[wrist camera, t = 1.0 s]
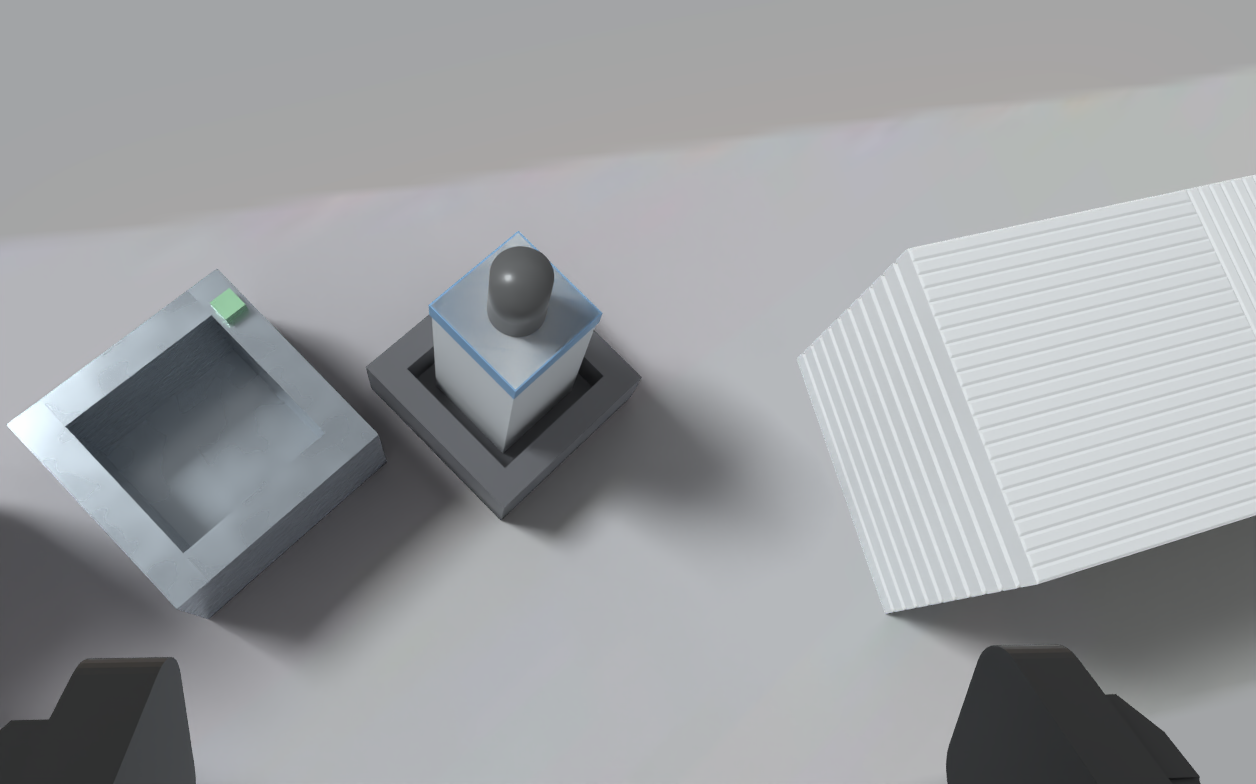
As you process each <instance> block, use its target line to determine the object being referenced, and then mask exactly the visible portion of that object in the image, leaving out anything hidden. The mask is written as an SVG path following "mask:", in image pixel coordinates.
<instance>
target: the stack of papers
mask: <svg viewBox="0 0 1256 784" xmlns="http://www.w3.org/2000/svg"><path fill="white" fill-rule="evenodd" d="M896 262H897V263H892V264H891V265H890V266H889V267H888V268H887V269H886V270H885V271H884V272H883V273H884V275H881V276H879V277H878V278H877V279H876V280H875V281H874V282H873V283H872V287H868V288H867V289H866V290H865V291H864V292H863V293H862V294H861V295H860V296H861V298H857V299H856V300H855V301H854V302H853V303H852V304H851V305H850V308H848V309H846V310H845V311H844V312H843V313H842V314H841V315H840V318H837V319H836V320H835V321H834V322H833V323H832V324H831V325H830V327H829V328H827V329H826V330H825V331H824V332H823V333H822V334H821V336H820V337H818V338H817V339H816V340H815V341H814V342H813V345H810V346H809V347H808V348H807V349H806V350H805V351H804V352H805V353H802V354H801V355H800V356H799V357H798V358H797V361H798V364H799V367H800V370H801V373H802V376H803V379H804V381H805V384H806V387H807V390H808V393H809V396H810V399H811V402H812V405H813V407H814V410H815V413H816V416H817V419H818V422H819V425H820V428H821V430H822V433H823V436H824V439H825V442H826V445H827V448H828V451H829V454H830V456H831V459H832V462H833V465H834V468H835V471H836V474H837V477H838V479H839V482H840V485H841V488H842V491H843V494H844V497H845V500H846V503H847V505H848V508H849V511H850V514H851V517H852V520H853V523H854V526H855V528H856V531H857V534H858V537H859V540H860V543H861V546H862V549H863V552H864V554H865V557H866V560H867V563H868V566H869V569H870V572H871V575H872V577H873V580H874V583H875V586H876V589H877V592H878V595H879V598H880V601H881V603H882V606H883V609H884V612H885V614H887V613H892V612H897V611H902V610H907V609H912V608H917V607H923V606H928V605H933V604H938V603H942V602H949V601H954V600H959V599H964V598H969V597H975V596H980V595H984V594H990V593H995V592H1000V591H1003V590H1004V591H1006V590H1011V589H1016V588H1019V587H1026V586H1032V585H1037V584H1040V583H1043V582H1046V581H1050V580H1053V579H1056V578H1059V577H1062V576H1065V575H1069V574H1072V573H1075V572H1078V571H1081V570H1084V569H1088V568H1091V567H1094V566H1097V565H1100V564H1103V563H1107V562H1110V561H1113V560H1116V559H1119V558H1122V557H1126V556H1129V555H1132V554H1135V553H1138V552H1141V551H1145V550H1148V549H1151V548H1154V547H1157V546H1160V545H1163V544H1167V543H1170V542H1173V541H1176V540H1179V539H1182V538H1186V537H1189V536H1192V535H1195V534H1198V533H1201V532H1205V531H1208V530H1211V529H1214V528H1217V527H1220V526H1224V525H1227V524H1230V523H1233V522H1236V521H1239V520H1243V519H1246V518H1249V517H1252V516H1255V515H1256V175H1251V176H1247V177H1242V178H1237V179H1232V180H1228V181H1223V182H1218V183H1214V184H1209V185H1204V186H1200V187H1195V188H1190V189H1185V190H1181V191H1176V192H1171V193H1167V194H1162V195H1157V196H1153V197H1148V198H1143V199H1138V200H1134V201H1129V202H1124V203H1120V204H1115V205H1110V206H1106V207H1101V208H1096V209H1092V210H1087V211H1082V212H1077V213H1073V214H1068V215H1063V216H1059V217H1054V218H1049V219H1045V220H1040V221H1035V222H1030V223H1026V224H1021V225H1016V226H1012V227H1007V228H1002V229H998V230H993V231H988V232H983V233H979V234H974V235H969V236H965V237H960V238H955V239H951V240H946V241H941V242H936V243H932V244H927V245H922V246H918V247H913V248H908V249H907V250H906V251H904V252H903V253H902V254H901V255H900V256H899V257H898V258H897V259H896Z"/></svg>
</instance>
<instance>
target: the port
mask: <svg viewBox="0 0 1256 784" xmlns="http://www.w3.org/2000/svg"><path fill="white" fill-rule="evenodd" d="M7 426H8V427H9V428H10V429H11V430H12V431H13V432H14V433H15V435H16V436H17V437H18V438H19V439H20V440H21V441H22V442H23V443H24V444H25V445H26V446H27V448H28V449H29V450H30V451H31V452H32V453H33V454H34V455H35V456H36V457H37V458H38V459H39V461H40V462H41V463H42V464H43V465H44V466H45V467H46V468H47V469H48V470H49V471H50V472H51V474H52V475H53V476H54V477H55V478H56V479H57V480H58V481H59V482H60V483H61V484H62V485H63V487H64V488H65V489H66V490H67V491H68V492H69V493H70V494H71V495H72V496H73V497H74V498H75V500H76V501H77V502H78V503H79V504H80V505H81V506H82V507H83V508H84V509H85V510H86V511H87V513H88V514H89V515H90V516H91V517H92V518H93V519H94V520H95V521H96V522H97V523H98V524H99V526H100V527H101V528H102V529H103V530H104V531H105V532H106V533H107V534H108V535H109V536H110V537H111V539H112V540H113V541H114V542H115V543H116V544H117V545H118V546H119V547H120V548H121V549H122V550H123V552H124V553H125V554H126V555H127V556H128V557H129V558H130V559H131V560H132V561H133V562H134V563H135V565H136V566H137V567H138V568H139V569H140V570H141V571H142V572H143V573H144V574H145V575H146V576H147V578H148V579H149V580H150V581H151V582H152V583H153V584H154V585H155V586H156V587H157V588H158V589H159V591H160V592H161V593H162V594H163V595H164V596H165V597H166V598H167V599H168V600H169V601H170V602H171V604H172V605H173V606H174V607H175V608H176V609H178V610H181V611H184V612H187V613H190V614H194V615H197V616H200V617H203V618H206V619H209V618H210V617H211V616H212V615H213V614H214V613H216V612H217V611H218V610H219V609H220V608H221V607H222V606H223V605H225V604H226V603H227V602H228V601H229V600H230V599H231V598H233V597H234V596H235V595H236V594H237V593H238V592H239V591H241V590H242V589H243V588H244V587H245V586H246V585H247V584H248V583H250V582H251V581H252V580H253V579H254V578H255V577H256V576H258V575H259V574H260V573H261V572H262V571H263V570H264V569H266V568H267V567H268V566H269V565H270V564H271V563H272V562H273V561H275V560H276V559H277V558H278V557H279V556H280V555H281V554H283V553H284V552H285V551H286V550H287V549H288V548H289V547H291V546H292V545H293V544H294V543H295V542H296V541H297V540H298V539H300V538H301V537H302V536H303V535H304V534H305V533H306V532H308V531H309V530H310V529H311V528H312V527H313V526H314V525H315V524H317V523H318V522H319V521H320V520H321V519H322V518H323V517H325V516H326V515H327V514H328V513H329V512H330V511H331V510H333V509H334V508H335V507H336V506H337V505H338V504H339V503H340V502H342V501H343V500H344V499H345V498H346V497H347V496H348V495H350V494H351V493H352V492H353V491H354V490H355V489H356V488H358V487H359V486H360V485H361V484H362V483H363V482H364V481H365V480H367V479H368V478H369V477H370V476H371V475H372V474H373V473H375V472H376V471H377V470H378V469H379V468H380V467H381V466H383V465H384V464H385V463H386V458H385V455H384V451H383V448H382V445H381V441H380V438H379V434H378V433H377V432H376V431H375V430H374V429H373V428H372V427H371V426H370V425H369V424H368V423H367V422H366V421H365V420H364V419H363V418H362V417H361V416H360V415H359V414H358V413H357V412H356V411H355V410H354V409H353V408H352V407H351V406H350V405H349V404H348V403H347V402H346V401H345V399H344V398H343V397H342V396H341V395H340V394H339V393H338V392H337V391H336V390H335V389H334V388H333V387H332V386H331V385H330V384H329V383H328V382H327V381H326V380H325V379H324V378H323V377H322V376H321V375H320V374H319V373H318V372H317V371H316V370H315V369H314V368H313V367H312V366H311V365H310V364H309V362H308V361H307V360H306V359H305V358H304V357H303V356H302V355H301V354H300V353H299V352H298V351H297V350H296V349H295V348H294V347H293V346H292V345H291V344H290V343H289V342H288V341H287V340H286V339H285V338H284V337H283V336H282V335H281V334H280V333H279V332H278V331H277V330H276V329H275V328H274V327H273V325H272V324H271V323H270V322H269V321H268V320H267V319H266V318H265V317H264V316H263V315H262V314H261V313H260V312H259V311H258V310H257V309H256V308H255V307H254V306H253V305H252V304H251V303H250V302H249V301H248V300H247V299H246V298H245V297H244V296H243V295H242V294H241V293H240V292H239V291H238V290H237V288H236V287H235V286H234V285H233V284H232V283H231V282H230V281H229V280H228V279H227V278H226V277H225V276H224V275H223V274H222V273H221V272H220V271H219V270H218V269H216V270H214V271H213V272H212V273H210V274H209V275H208V276H206V277H205V278H203V279H202V280H201V281H199V282H198V283H197V284H195V285H194V286H193V287H191V288H190V289H189V290H187V291H186V292H185V293H183V294H182V295H181V296H179V297H178V298H177V299H175V300H174V301H172V302H171V303H170V304H168V305H167V306H166V307H164V308H163V309H162V310H160V311H159V312H158V313H156V314H155V315H154V316H152V317H151V318H150V319H148V320H147V321H146V322H144V323H143V324H141V325H140V326H139V327H137V328H136V329H135V330H133V331H132V332H131V333H129V334H128V335H127V336H125V337H124V338H123V339H121V340H120V341H119V342H117V343H116V344H115V345H113V346H112V347H110V348H109V349H108V350H106V351H105V352H104V353H102V354H101V355H100V356H98V357H97V358H96V359H94V360H93V361H92V362H90V363H89V364H88V365H86V366H85V367H84V368H82V369H81V370H79V371H78V372H77V373H75V374H74V375H73V376H71V377H70V378H69V379H67V380H66V381H65V382H63V383H62V384H61V385H59V386H58V387H57V388H55V389H54V390H53V391H51V392H50V393H48V394H47V395H46V396H44V397H43V398H42V399H40V400H39V401H38V402H36V403H35V404H34V405H32V406H31V407H30V408H28V409H27V410H26V411H24V412H23V413H22V414H20V415H19V416H17V417H16V418H15V419H13V420H12V421H11V422H9V423H8V424H7Z"/></svg>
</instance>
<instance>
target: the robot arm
mask: <svg viewBox="0 0 1256 784" xmlns="http://www.w3.org/2000/svg"><path fill="white" fill-rule="evenodd" d="M946 773H947V783H948V784H1200V781H1199V775H1198V774H1197V773H1196V771H1195V770H1194V769H1193V768H1192V766H1191V765H1190V764H1189V763H1188V762H1187V760H1186V759H1185V758H1184V756H1183V755H1182V754H1181V753H1180V751H1179V750H1178V749H1177V747H1176V746H1175V745H1174V744H1173V742H1172V741H1171V740H1170V739H1169V737H1168V736H1167V735H1166V734H1165V732H1163V731H1162V730H1161V729H1160V728H1158V727H1157V726H1156V725H1154V724H1153V723H1152V722H1151V721H1149V720H1148V719H1147V718H1146V717H1144V716H1143V715H1142V714H1141V713H1139V712H1138V711H1137V710H1135V709H1134V708H1133V707H1132V706H1130V705H1129V704H1128V703H1126V702H1125V701H1124V700H1123V699H1121V698H1120V697H1119V696H1117V695H1116V694H1108V695H1105V694H1104V693H1103V691H1102V690H1101V689H1100V687H1099V686H1098V685H1097V683H1096V682H1095V681H1094V679H1093V678H1092V677H1091V675H1090V674H1089V673H1088V671H1087V670H1086V669H1085V667H1084V666H1083V665H1082V664H1081V662H1080V661H1079V660H1078V658H1077V657H1076V656H1075V655H1074V654H1073V652H1071V651H1070V650H1069V649H1068V648H1066V647H1064V646H1062V645H1057V644H1054V645H997V646H990V647H988V648H986V649H985V650H984V651H983V652H982V654H981V655H980V657H979V659H978V662H977V665H976V668H975V671H974V674H973V677H972V679H971V682H970V685H969V688H968V691H967V694H966V697H965V700H964V703H963V706H962V709H961V712H960V715H959V718H958V721H957V724H956V727H955V729H954V732H953V735H952V738H951V741H950V744H949V748H948V752H947V760H946ZM0 784H196V777H195V767H194V760H193V754H192V747H191V740H190V733H189V727H188V720H187V713H186V707H185V700H184V693H183V687H182V680H181V674H180V669H179V666H178V663H177V661H176V660H175V659H174V658H172V657H154V658H95V659H85V660H83V661H82V662H81V663H80V664H79V665H78V666H77V668H76V669H75V671H74V673H73V674H72V676H71V678H70V680H69V682H68V684H67V686H66V688H65V690H64V692H63V694H62V695H61V697H60V699H59V701H58V703H57V705H56V707H55V709H54V711H53V713H52V715H51V717H50V719H49V720H15V721H10V722H9V723H8V724H7V725H6V726H5V727H4V728H3V729H1V730H0Z"/></svg>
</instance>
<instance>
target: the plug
mask: <svg viewBox="0 0 1256 784" xmlns="http://www.w3.org/2000/svg"><path fill="white" fill-rule="evenodd" d="M429 315H430V316H431V317H432V327H433V343H434V358H435V374H436V386H437V387H438V388H439V389H440V390H441V391H442V392H443V393H444V394H445V395H446V396H447V397H448V398H449V399H450V400H451V401H452V402H453V403H454V404H455V405H456V406H457V407H458V408H459V409H460V410H461V411H462V412H463V413H464V414H465V415H466V416H467V417H468V418H469V419H470V420H471V421H472V422H473V423H474V424H475V426H476V427H477V428H478V429H479V430H480V431H481V432H482V433H483V434H484V435H485V436H486V437H487V438H488V439H489V440H490V441H491V442H492V443H493V444H494V445H495V446H496V447H497V448H498V449H499V450H500V451H501V452H502V453H504V452H505V451H506V450H507V449H508V448H509V447H510V446H512V445H513V444H514V443H515V442H516V441H517V440H518V439H519V438H520V437H521V436H522V435H523V434H525V433H526V432H527V431H528V430H529V429H530V428H531V427H532V426H533V425H534V424H535V423H536V422H538V421H539V420H540V419H541V418H542V417H543V416H544V415H545V414H546V413H547V412H548V411H549V410H551V409H552V408H553V407H554V406H555V405H556V404H557V403H558V402H559V401H560V400H561V399H562V398H564V397H565V396H566V395H567V394H568V393H569V392H570V391H571V390H572V387H573V384H574V382H575V379H576V376H577V374H578V371H579V368H580V366H581V363H582V360H583V358H584V355H585V352H586V350H587V347H588V344H589V342H590V339H591V336H592V334H593V331H594V328H595V326H596V325H597V324H598V323H599V321H600V318H601V316H602V312H601V311H600V310H599V309H598V308H597V307H595V306H594V305H593V304H592V303H591V302H590V301H589V300H588V299H587V298H586V297H585V296H584V295H583V294H582V293H581V292H580V291H579V290H578V289H577V288H576V287H575V286H574V285H573V284H572V283H571V282H570V281H569V280H568V279H567V278H566V277H565V276H564V275H563V274H562V273H561V272H560V271H559V270H558V269H557V268H556V267H555V266H554V265H553V264H552V263H551V262H550V261H549V260H548V259H547V258H546V256H544V255H543V254H542V253H541V252H539V251H538V250H537V249H536V248H535V247H534V246H533V245H532V244H531V243H530V242H529V241H528V240H527V239H526V238H525V237H524V236H523V235H522V234H521V233H520V232H519V231H518V232H516V233H515V234H514V235H513V236H512V237H510V238H509V239H508V240H507V241H506V242H504V243H503V244H502V245H501V246H499V247H498V248H497V249H496V250H495V251H493V252H492V253H491V254H490V255H489V256H487V257H486V258H485V259H484V260H483V261H481V262H480V263H479V264H478V265H476V266H475V267H474V268H473V269H472V270H470V271H469V272H468V273H467V274H466V275H464V276H463V277H462V278H461V279H460V280H458V281H457V282H456V283H455V284H454V285H452V286H451V287H450V288H449V289H447V290H446V291H445V292H444V293H443V294H441V295H440V296H439V297H438V298H437V299H435V300H434V301H433V302H432V303H431V304H429Z"/></svg>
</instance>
